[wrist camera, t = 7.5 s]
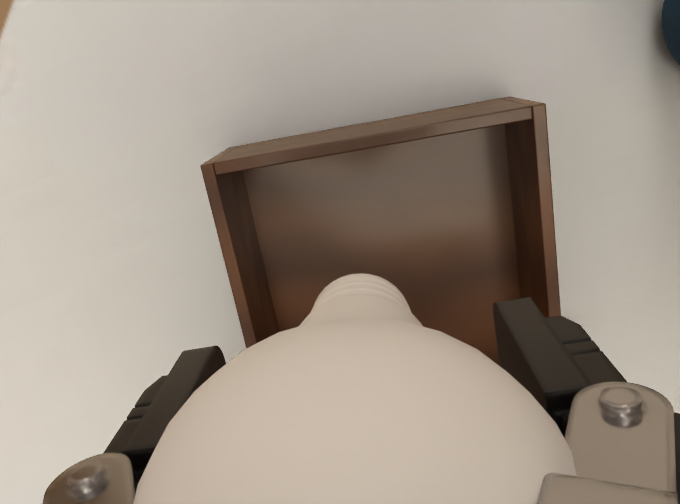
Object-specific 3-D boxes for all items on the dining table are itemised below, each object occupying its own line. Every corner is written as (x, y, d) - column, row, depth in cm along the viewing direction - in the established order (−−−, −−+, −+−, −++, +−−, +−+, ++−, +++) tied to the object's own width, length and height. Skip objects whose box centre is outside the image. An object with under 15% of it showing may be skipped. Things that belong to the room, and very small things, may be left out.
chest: (228, 147, 32) (199, 165, 26) (510, 96, 31) (546, 103, 25) (291, 411, 37) (278, 475, 31) (535, 377, 36) (570, 437, 30)
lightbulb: (446, 422, 16) (598, 1053, 6) (234, 386, 16) (7, 969, 6) (503, 217, 14) (870, 619, 4) (262, 174, 14) (1, 476, 4)
